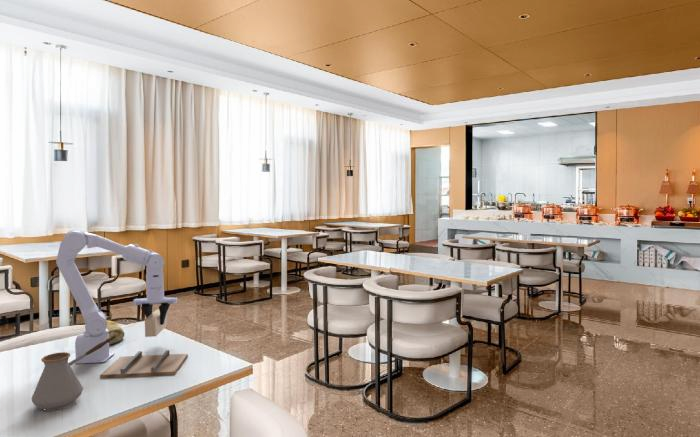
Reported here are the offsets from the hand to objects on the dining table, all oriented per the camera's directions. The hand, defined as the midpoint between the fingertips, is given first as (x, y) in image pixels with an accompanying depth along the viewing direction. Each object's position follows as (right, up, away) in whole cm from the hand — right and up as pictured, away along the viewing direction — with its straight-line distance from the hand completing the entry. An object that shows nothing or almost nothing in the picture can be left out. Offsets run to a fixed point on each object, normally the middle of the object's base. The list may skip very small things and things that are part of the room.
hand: (156, 324), depth 159 cm
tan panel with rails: (+4, -10, -16) cm, 19 cm away
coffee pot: (-5, -12, -37) cm, 39 cm away
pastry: (-23, -9, +9) cm, 26 cm away
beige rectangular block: (0, -2, 0) cm, 2 cm away
